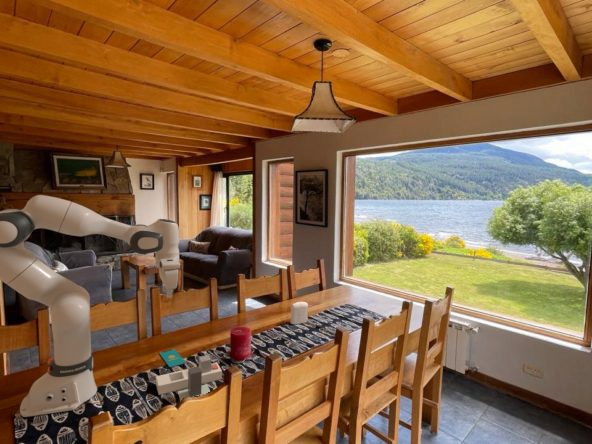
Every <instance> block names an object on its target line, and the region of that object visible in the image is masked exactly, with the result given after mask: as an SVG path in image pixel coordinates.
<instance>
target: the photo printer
mask: <svg viewBox="0 0 592 444" xmlns="http://www.w3.org/2000/svg"><path fill="white" fill-rule="evenodd" d="M290 307H291V308H290V320H289V321H290V324H291V325H297V324H299V325H300V324H306V323H307V322H308V314H309V313H308V312H309V305H308V303H307V302H305V301H296V302H294V303H292V304H291V306H290Z"/></svg>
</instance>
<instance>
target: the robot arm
mask: <svg viewBox="0 0 592 444" xmlns="http://www.w3.org/2000/svg"><path fill="white" fill-rule="evenodd" d="M179 228H180V227H179V225H178V223H177V222H176V221H174V220H171V219H166V218H159V219H157V220H155V221H154V222H153V223H150V224H149V225H145V224H142V223H141V224H127V223H124V222H120V221H117V220H114V219H112V218H111V219H110V218H108V217H105V216H103V215H101V214H99V213H97V212H95V211H93V210H92V209H90V208H88V207H85V206H84V205H81V204H78V203H77V202H73V201H71V200H67V199H63V198H60V197H55V196H49V195H44V194H37V195H34V196H32V197H31V198H30V199H29V200H28V201H27V203H26V205H25V206H24V208H22V209H20V208H15V207H14V208H7V209H3V210H0V281H2V282H3V283H4V284H6V285H7V287H8V286H9V287H10V288H11V289H13V290H14V291H16V292H17V293H18V294H21V295H22V296H23V297H25V298H26V299H28V300H32V301H36V302H38V303H41V304H42V305H44V306H47V307H48V308H50V309H51V310H50V322H51V331H52V339H53V351H54V352H53V355H54V356H53V357H50V358H48V360H47V371H46V373H45V374H43V375H42V376H41V377H39V378H38V379H36V380H35V381H34V382H33V383H32V385H31V386H30V389H29V392H28V394H27V395H26V396H25V397H24V398H23V399H22V401H21V403H20V406H19V415H20V416H21V417H23V418H28V417H35V416H41V415H48V414H54V413H60V412H69V411H73V410H75V409H77V408H78V407H80V405H82V404H83V403H85V402H87V401H88V400H91V398H93V397H94V396H95V395H96V394H97V391H98V387H97V384H96V382H95V377H94V371H93V369H94V357H93V353H92V336H91V335H92V334H91V314H90V313H91V312H90V311H91V304H90V303H91V302H90V301H91V298H90V294H89V292H88V290H87V289H85V287H83V286H81V285H78V284H77V283H75V282H74V281H72V280H70V279H69V278H66V277H65V276H63V275H61V274H59V273H58V272H56V271H54V270H53V269H52V268H51V267H50V266H48V265H47V264H45V263H44V262H43V261H42V260H40V259H39V258H38V257H36V256H34V254H32V253H31V252H30V251H28V250H27V248H26V247H25V243H26V242H27V240H28V239H29V237H30V236H31V234H32V233H33V231H34V230H37V229H45V230H50V231H53V232H56V233H60V234H64V235H69V236H75V237H85V236H90V235H103V236H108V237H111V238H115V239H119V240H120V241H121V240H122V241H124V242H125V243H126V244H128V245H129V247H130V249H131V250H132V251H133V252H134V253H136V254H138V255H149V254H152V253H155V254H154V255H155V259H154V261H155V266H157V267H158V269H159V271H158V274H159V278H160V280H161V281H162V282H161V284H162V290H163V291H164V292H166V297H167V299H171V298H172V297H173V291H174V290H176V289H177V286H178V281H179V269H180V267H181V265H180V264H181V263H180V249H179V244H180V229H179Z"/></svg>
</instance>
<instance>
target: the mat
mask: <svg viewBox="0 0 592 444" xmlns="http://www.w3.org/2000/svg"><path fill="white" fill-rule="evenodd" d="M210 391H211V390H210V387H209V385H208V384H207V383H204V384H201V394H206V393H208V392H210ZM201 394H200V395H201ZM177 395H178V397H179V401H180V402H181V400H182V399H183V398H185V397H190V395H189V392H188V388H184V389H181V390H177ZM197 396H199V395H197ZM193 397H194V396H193Z"/></svg>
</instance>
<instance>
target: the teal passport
mask: <svg viewBox="0 0 592 444" xmlns="http://www.w3.org/2000/svg"><path fill="white" fill-rule="evenodd" d="M159 354H160V355H161V356H160V355H159V356H160V358H161V359H162V358H163V359H162V360H163V361H164V362H165V364H166V365H167V367H168V368H170V369H171V368H172V369H173V368H175V367H178V366H182V365H185V364H187V363H186V362H187V361H185V359H184V358H183V357H182V356H181V354H180V353H179V352H178V351H177V350H176V348H172V349H168V350H163V351H160V352H159Z"/></svg>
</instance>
